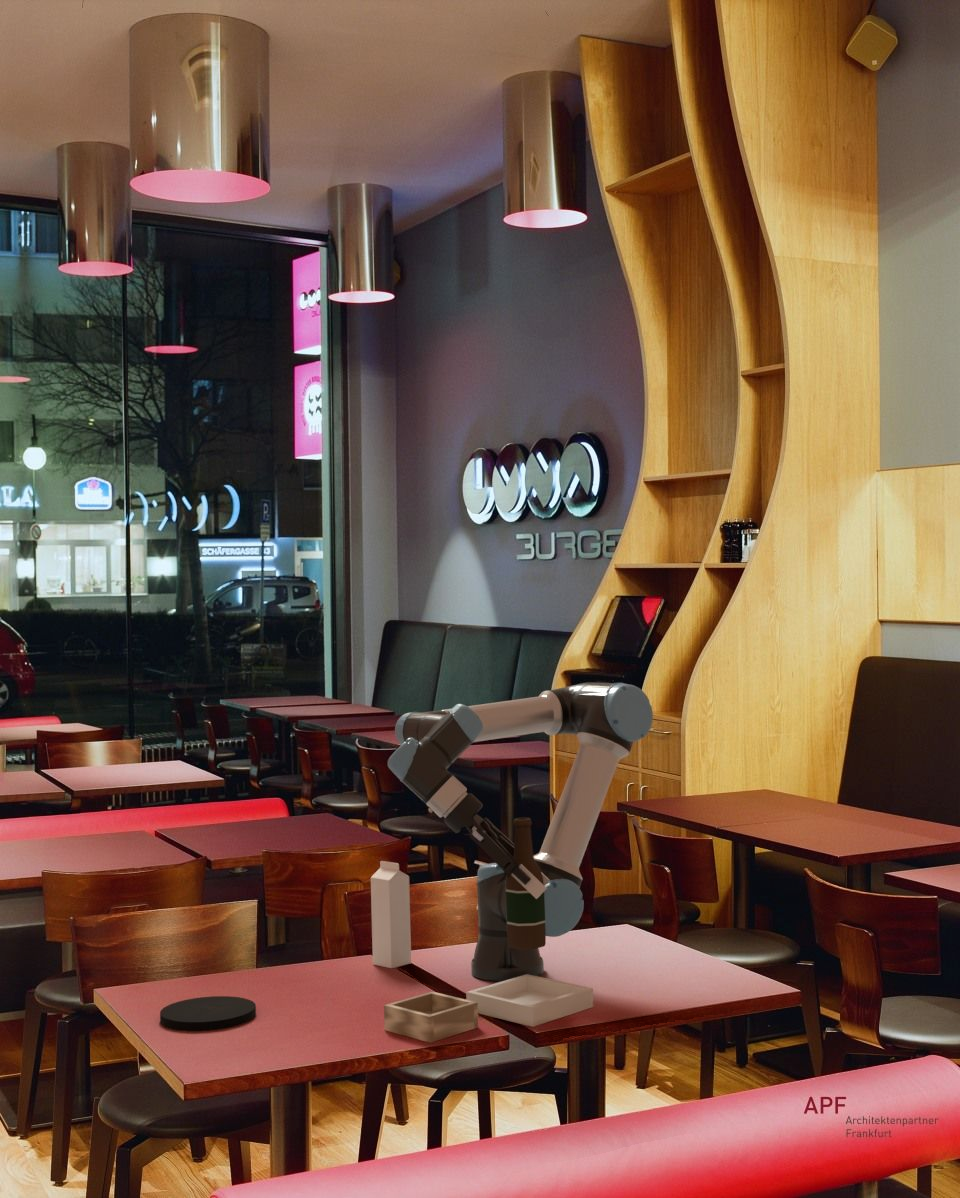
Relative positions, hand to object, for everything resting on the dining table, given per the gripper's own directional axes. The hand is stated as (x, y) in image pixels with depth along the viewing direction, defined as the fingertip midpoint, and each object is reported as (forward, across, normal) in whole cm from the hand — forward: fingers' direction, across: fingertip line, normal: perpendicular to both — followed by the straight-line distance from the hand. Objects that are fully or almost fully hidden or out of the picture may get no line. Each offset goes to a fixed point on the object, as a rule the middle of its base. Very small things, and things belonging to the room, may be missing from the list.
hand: (543, 889), depth 266 cm
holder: (+2, +13, -30) cm, 33 cm away
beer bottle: (+5, 0, -10) cm, 11 cm away
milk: (-9, -35, -42) cm, 55 cm away
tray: (+14, 0, -18) cm, 23 cm away
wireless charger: (-29, +7, -61) cm, 68 cm away
